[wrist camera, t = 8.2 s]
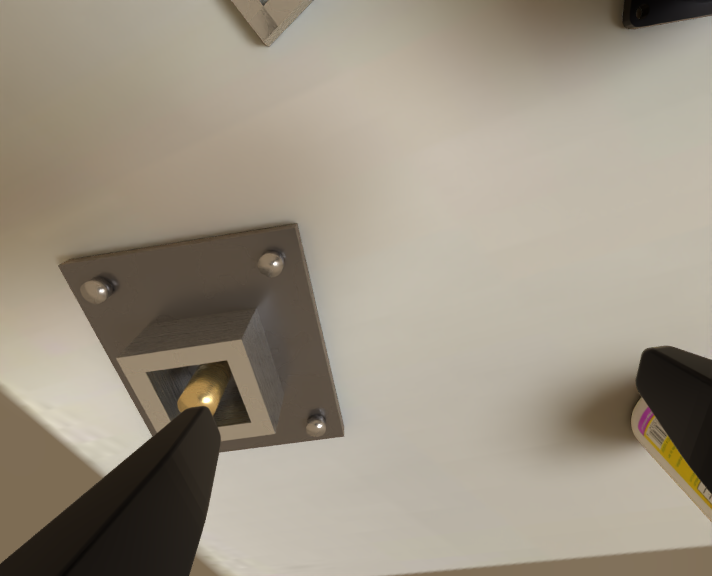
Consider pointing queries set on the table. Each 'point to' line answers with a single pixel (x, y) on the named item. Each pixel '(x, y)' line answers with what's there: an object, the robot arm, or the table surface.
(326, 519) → the table surface
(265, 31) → the chain tail
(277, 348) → the keeper plate
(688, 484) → the supplement bottle
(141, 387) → the end link
